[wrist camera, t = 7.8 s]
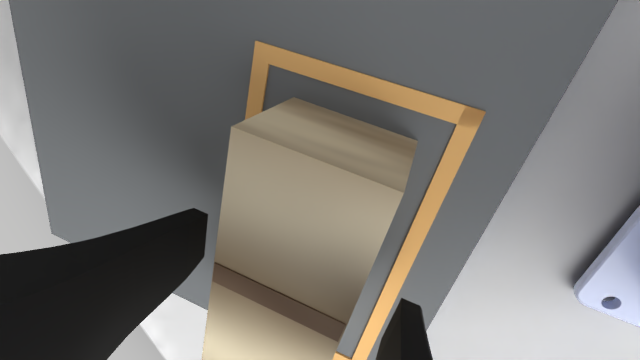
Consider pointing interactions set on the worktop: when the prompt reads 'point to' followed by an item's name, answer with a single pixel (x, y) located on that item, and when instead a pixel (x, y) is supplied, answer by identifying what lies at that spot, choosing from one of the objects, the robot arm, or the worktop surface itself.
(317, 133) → the cream block
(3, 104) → the worktop surface
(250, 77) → the rubber mat
